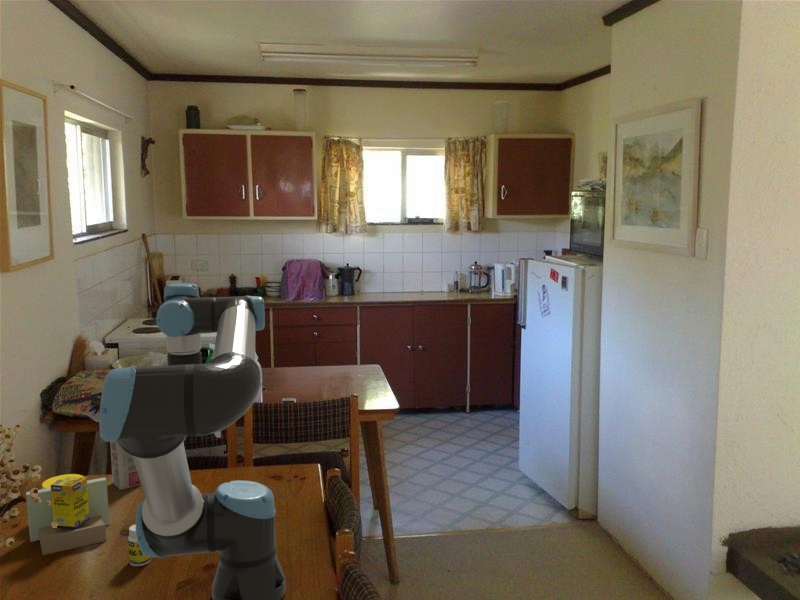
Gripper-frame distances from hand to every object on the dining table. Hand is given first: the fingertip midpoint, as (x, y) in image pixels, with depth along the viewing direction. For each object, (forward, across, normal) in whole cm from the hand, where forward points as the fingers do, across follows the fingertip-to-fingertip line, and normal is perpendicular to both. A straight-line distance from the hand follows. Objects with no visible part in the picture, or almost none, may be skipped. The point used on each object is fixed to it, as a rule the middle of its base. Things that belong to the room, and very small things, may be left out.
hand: (188, 441), depth 163 cm
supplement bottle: (+27, +12, -1) cm, 29 cm away
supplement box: (+23, +24, -21) cm, 39 cm away
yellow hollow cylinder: (+27, +24, -37) cm, 52 cm away
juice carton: (+27, +6, -51) cm, 58 cm away
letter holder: (+27, +24, -21) cm, 42 cm away
